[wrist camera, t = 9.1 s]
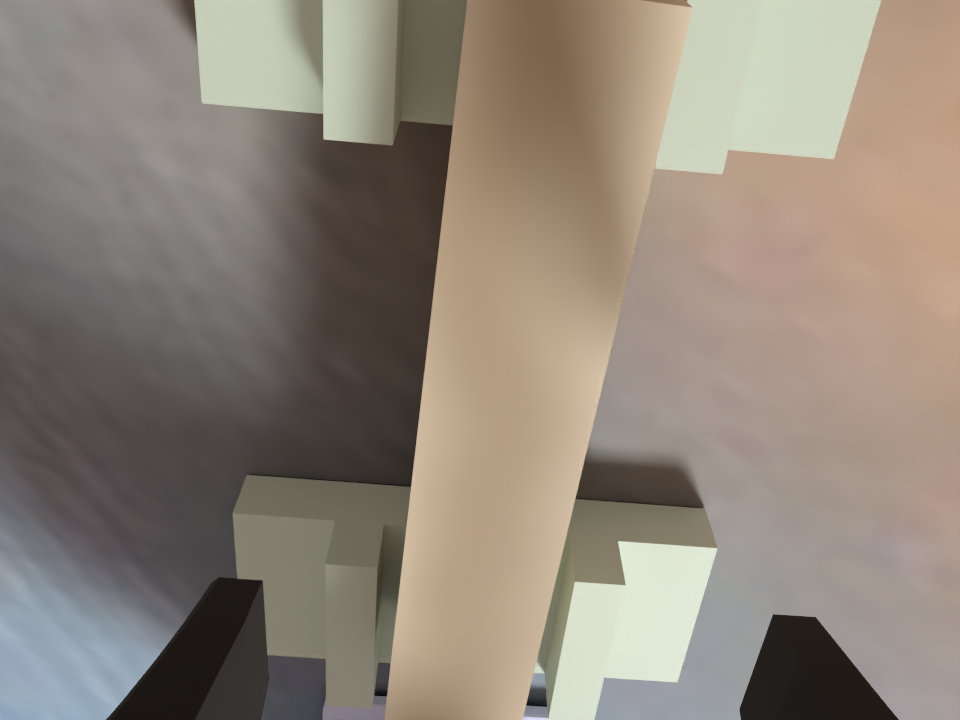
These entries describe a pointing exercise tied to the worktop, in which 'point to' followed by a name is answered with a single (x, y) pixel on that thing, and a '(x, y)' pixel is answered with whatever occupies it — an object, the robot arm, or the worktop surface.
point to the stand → (594, 524)
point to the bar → (522, 330)
